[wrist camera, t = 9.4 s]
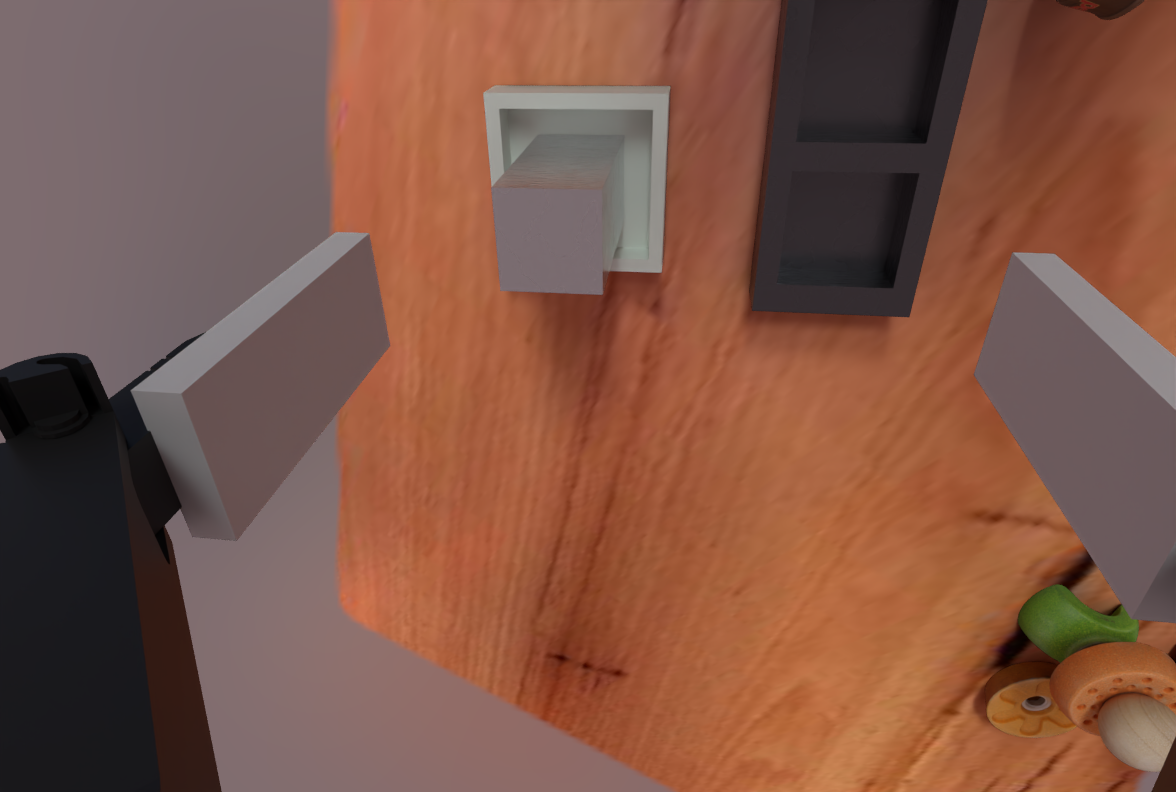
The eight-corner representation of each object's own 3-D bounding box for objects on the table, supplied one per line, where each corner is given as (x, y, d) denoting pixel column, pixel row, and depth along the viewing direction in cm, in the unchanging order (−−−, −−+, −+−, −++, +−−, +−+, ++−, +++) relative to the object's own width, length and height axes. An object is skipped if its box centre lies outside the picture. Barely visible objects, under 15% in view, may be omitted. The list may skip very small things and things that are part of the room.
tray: (494, 85, 40) (483, 92, 38) (670, 85, 39) (668, 93, 37) (507, 252, 46) (498, 267, 44) (663, 257, 45) (661, 272, 42)
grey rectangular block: (538, 134, 41) (491, 187, 32) (624, 135, 40) (602, 189, 31) (542, 218, 44) (500, 290, 34) (623, 221, 43) (602, 294, 34)
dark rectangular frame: (786, -44, 35) (793, -43, 33) (977, -47, 34) (998, -47, 32) (749, 290, 45) (751, 310, 42) (897, 296, 44) (909, 317, 41)
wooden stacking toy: (947, 700, 63) (997, 850, 52) (1050, 566, 54) (1136, 716, 43) (1148, 746, 63) (1238, 906, 52) (1286, 620, 53) (1430, 784, 43)
